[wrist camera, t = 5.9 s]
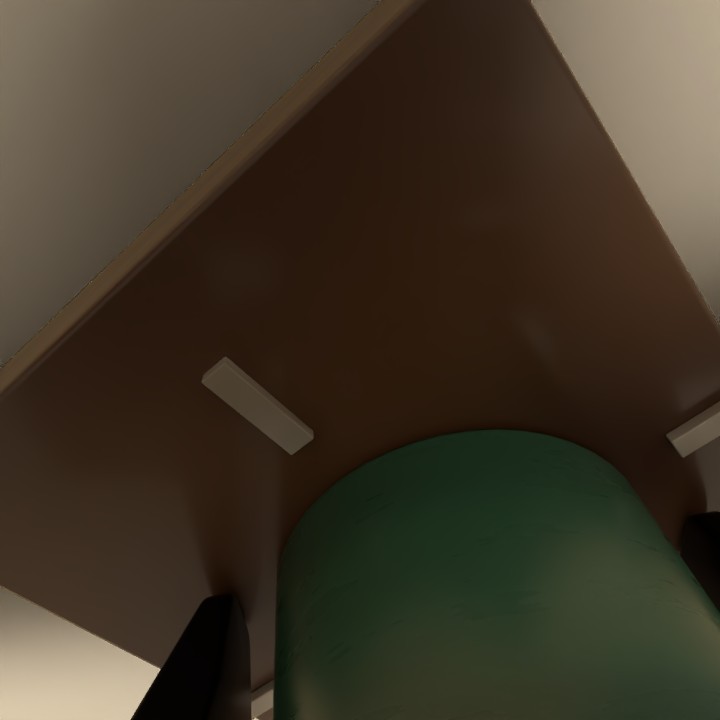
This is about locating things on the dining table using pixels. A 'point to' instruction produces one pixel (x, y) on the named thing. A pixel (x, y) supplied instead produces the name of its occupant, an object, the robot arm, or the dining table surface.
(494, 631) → the green drum
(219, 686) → the robot arm
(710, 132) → the dining table surface
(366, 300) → the brown board with bars
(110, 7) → the dining table surface
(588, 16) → the dining table surface
